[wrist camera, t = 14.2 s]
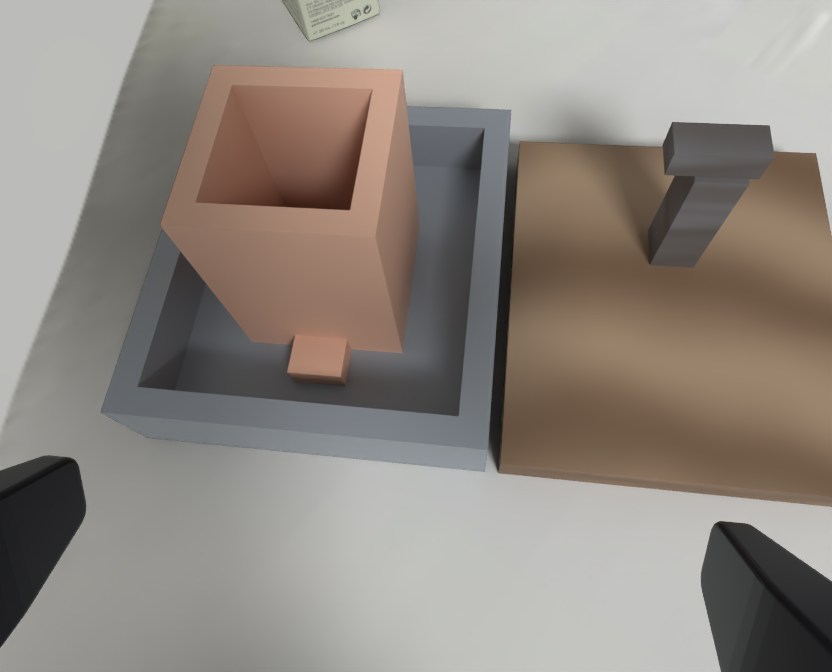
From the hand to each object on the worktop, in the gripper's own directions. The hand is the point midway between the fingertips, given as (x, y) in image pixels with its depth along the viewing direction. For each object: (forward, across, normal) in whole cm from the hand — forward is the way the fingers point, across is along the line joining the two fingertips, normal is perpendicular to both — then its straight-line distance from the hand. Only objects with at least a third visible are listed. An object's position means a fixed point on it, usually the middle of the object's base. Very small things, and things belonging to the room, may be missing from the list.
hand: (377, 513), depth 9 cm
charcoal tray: (+17, +5, +2) cm, 18 cm away
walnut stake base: (+17, -8, +2) cm, 19 cm away
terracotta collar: (+16, +5, +1) cm, 17 cm away
